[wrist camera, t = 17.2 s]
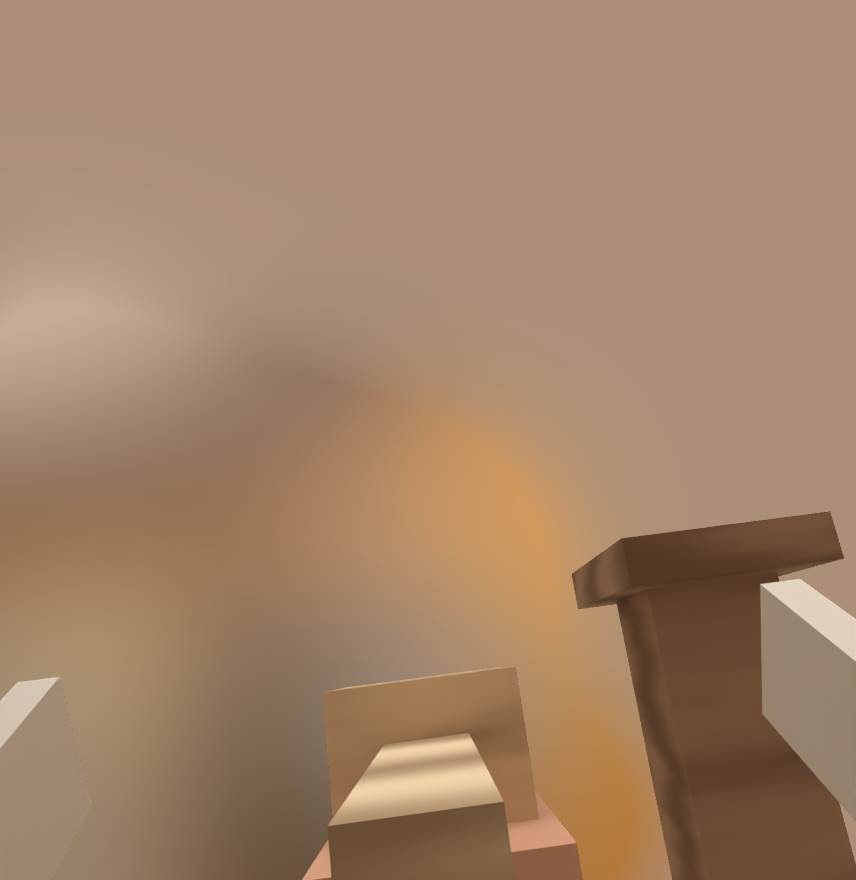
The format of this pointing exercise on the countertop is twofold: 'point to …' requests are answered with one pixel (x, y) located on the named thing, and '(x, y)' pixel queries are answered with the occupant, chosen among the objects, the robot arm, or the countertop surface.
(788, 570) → the walnut stand
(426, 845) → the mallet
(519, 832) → the terracotta stand
